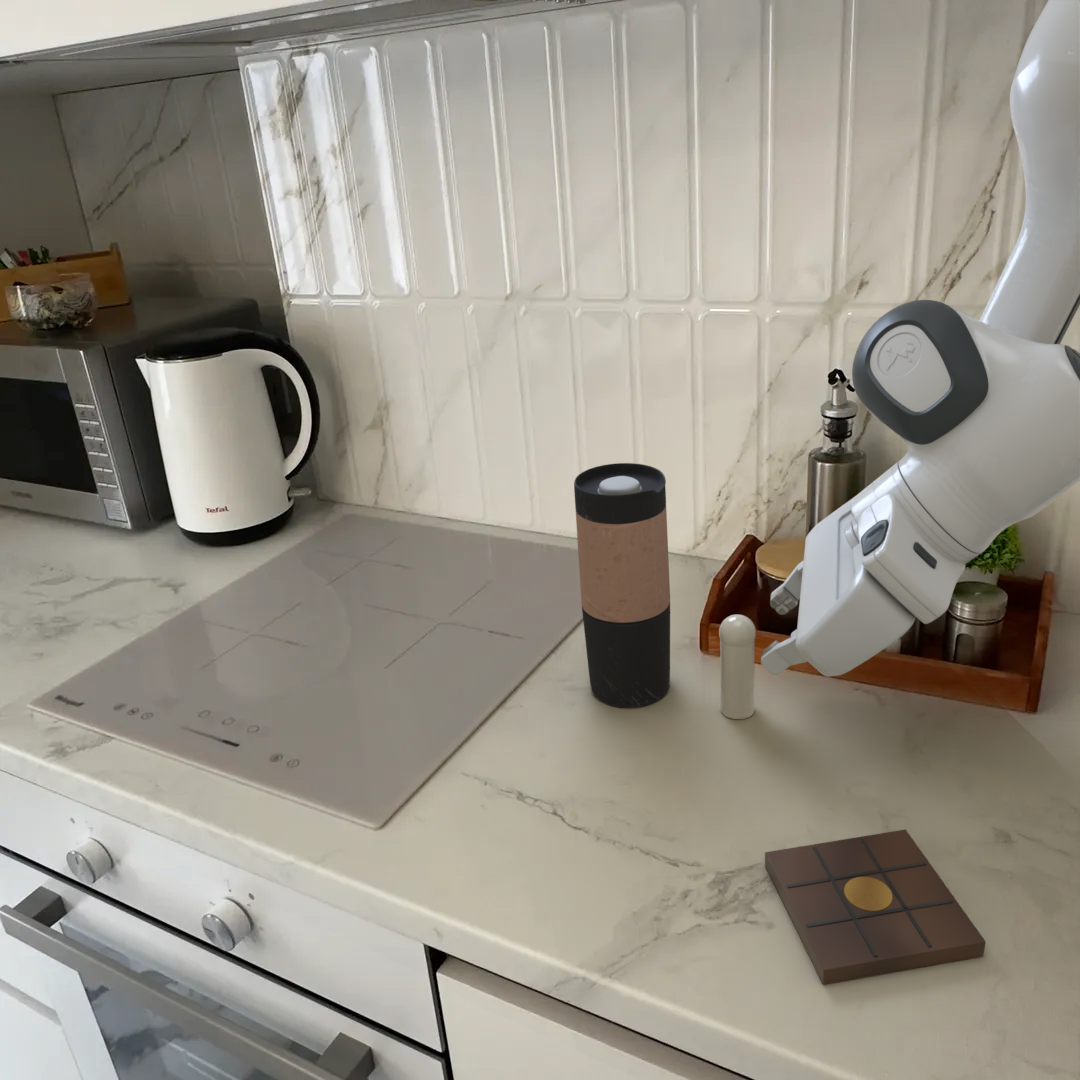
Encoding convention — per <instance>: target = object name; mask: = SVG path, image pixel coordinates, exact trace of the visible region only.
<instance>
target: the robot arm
mask: <svg viewBox="0 0 1080 1080" xmlns="http://www.w3.org/2000/svg"><path fill="white" fill-rule="evenodd" d="M1012 79H1013V80H1012V83H1011V88H1010V92H1009V111H1010V118H1011V124H1012V128H1013V132H1014V135H1015V139H1016V142H1017V146H1018V150H1019V154H1020V160H1021V165H1022V170H1023V177H1024V187H1025V206H1024V207H1025V208H1024V209H1025V210H1024V216H1023V220H1022V226H1021V229H1020V231H1019V235H1018V237H1017V240H1016V243H1015V245H1014V246H1013V249H1012V251H1011V253H1010V255H1009V258H1008V260H1007V262H1006V263H1005V266H1004V268H1003V270H1002V272H1001V274H1000V276H999V278H998V280H997V282H996V284H995V287H994V289H993V291H992V293H991V295H990V297H989V300H988V301H987V303H986V306H985V307H984V310H983V312H982V314H981V316H980V318H979V319H977V318H975V317H974V316H972V315H970V314H968V313H966V312H964V311H963V310H960V309H959V308H957V307H954V306H952V305H949V304H946V303H944V302H941V301H937V300H933V299H918V300H912V301H908V302H905V303H902V304H900V305H897V306H895V307H894V308H892V309H890V310H889V311H887V312H886V313H884V314H883V315H882V316H881V317H879V318H878V319H876V320H875V322H874V323H873V324H872V325H871V326H870V328H868V329H867V331H866V332H865V334H864V335H863V337H862V339H861V340H860V342H859V344H858V346H857V348H856V351H855V355H854V358H853V361H852V367H851V368H852V369H851V379H852V385H853V387H854V388H853V389H854V391H855V394H856V396H857V397H858V400H859V401H860V402H861V404H862V405H863V406H864V407H865V408H866V410H867V411H868V412H869V413H870V414H871V415H872V416H873V417H874V418H875V419H876V420H877V421H879V422H880V423H881V424H884V425H885V426H886V427H887V428H888V429H889V430H891V431H893V433H895V434H897V435H898V436H899V437H900V438H901V439H902V440H903V441H904V442H905V444H906V446H907V450H906V453H905V454H904V456H903V457H902V458H901V459H899V460H898V461H897V462H896V463H894V464H893V465H892V466H890V468H888V469H887V470H886V471H884V472H883V473H882V474H881V475H880V476H878V477H877V478H875V480H873V481H872V482H870V484H869V485H867V486H866V487H865V488H863V490H861V491H859V493H857V494H856V495H855V496H853V497H852V498H851V499H849V500H848V501H847V502H845V503H844V504H842V505H840V507H838V508H837V509H835V510H834V511H833V512H831V513H830V514H829V515H827V516H826V517H825V518H823V519H822V520H820V521H819V522H818V523H817V524H816V525H814V527H812V529H811V530H810V531H809V532H808V534H807V535H806V537H805V541H804V552H803V560H802V561H800V562H799V563H798V564H797V565H796V566H795V568H794V569H793V570H792V571H791V573H790V574H789V575H788V576H787V578H786V579H785V580H784V581H783V583H782V584H780V585H779V586H778V587H777V588H776V589H774V590H773V591H772V592H771V593H770V599H769V605H770V607H771V608H772V609H774V610H775V611H776V613H777V614H779V615H781V616H783V615H786V614H788V613H789V612H790V611H791V610H793V609H794V608H796V607H797V606H799V607H798V614H797V624H796V625H797V626H796V629H795V630H793V631H792V632H791V633H790V637H789V638H787V639H785V640H783V641H781V642H779V640H777V639H775V640H774V641H773V642H771V643H770V644H769V645H768V646H767V647H765V648H763V650H762V652H761V657H760V664H761V667H763V668H764V669H765V670H766V671H767V672H768V673H769V674H770V675H773V676H777V675H780V674H782V673H783V672H784V671H785V670H786V669H788V668H789V667H791V666H795V665H799V664H804V663H809V665H811V666H812V667H813V668H814V669H815V670H816V671H818V672H819V673H820V674H821V675H823V676H824V677H828V678H829V677H839V676H842V675H844V674H847V673H849V672H850V671H852V670H853V669H855V668H857V667H859V666H860V665H862V664H864V663H865V662H867V661H869V660H870V659H871V658H873V657H874V656H876V655H878V654H880V652H882V651H884V650H885V649H887V648H888V647H889V646H891V645H892V644H894V643H895V642H896V641H898V640H900V638H902V637H903V636H904V635H906V633H907V632H909V630H910V629H911V627H912V626H913V625H914V624H915V623H914V622H915V621H916V618H917V619H918V620H919V621H920V622H921V623H923V624H924V625H927V624H931V623H932V622H934V621H936V620H937V619H939V618H940V617H941V616H942V615H944V614H945V613H946V612H947V611H948V609H949V608H950V605H951V602H952V601H951V600H952V598H953V594H954V590H955V589H956V585H957V583H958V581H959V579H960V577H961V576H962V574H963V573H964V571H965V569H966V565H967V564H968V563H969V562H971V561H972V560H973V559H975V558H977V557H978V556H979V555H980V554H982V553H983V552H984V551H986V550H987V548H989V547H990V545H991V544H992V543H993V541H994V540H995V539H997V537H998V536H999V535H1000V534H1001V533H1002V532H1003V531H1004V530H1006V529H1007V528H1009V527H1010V526H1013V525H1014V524H1017V523H1019V522H1022V521H1025V520H1028V519H1030V518H1032V517H1034V516H1035V515H1037V514H1038V513H1040V512H1041V511H1042V510H1044V509H1045V508H1047V507H1048V506H1049V505H1051V504H1052V503H1054V502H1055V501H1056V500H1057V499H1058V498H1060V497H1061V496H1062V495H1064V494H1065V493H1066V492H1068V491H1069V490H1070V489H1071V488H1072V487H1074V486H1075V485H1077V483H1079V482H1080V352H1079V351H1077V350H1076V349H1074V348H1072V347H1071V346H1070V345H1066V344H1062V341H1063V339H1064V337H1065V335H1066V333H1067V331H1068V329H1069V328H1070V325H1071V323H1072V321H1073V319H1074V317H1075V316H1076V313H1077V311H1078V309H1079V307H1080V0H1047V2H1046V3H1045V5H1044V7H1043V9H1042V11H1041V13H1040V15H1039V16H1038V18H1037V20H1036V22H1035V24H1034V25H1033V28H1032V29H1031V31H1030V33H1029V36H1028V37H1027V40H1026V41H1025V44H1024V46H1023V49H1022V52H1021V54H1020V58H1019V61H1018V64H1017V65H1016V70H1015V73H1014V76H1013V78H1012ZM798 604H799V605H798Z"/></svg>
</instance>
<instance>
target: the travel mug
mask: <svg viewBox="0 0 1080 1080" xmlns="http://www.w3.org/2000/svg"><path fill="white" fill-rule="evenodd" d="M666 483H667V480H666V476H665V474H664V473H663V472H662V470H660V469H658V468H656V467H654V466H651V465H647V464H643V463H634V462H633V463H632V462H619V463H618V462H617V463H608V464H602V465H598V466H595V467H591V468H588V469H586V470H584V471H582V472H581V473H579V474H578V475H577V476H576V477H575V478H574V481H573V485H574V486H573V490H574V505H575V507H574V509H575V522H576V523H575V524H576V536H577V537H576V539H577V540H576V541H577V554H578V555H577V556H578V569H579V571H578V572H579V584H580V587H579V588H580V601H581V603H580V604H581V612H582V613H581V614H582V621H583V631H584V640H585V648H586V658H587V668H588V676H589V684H590V689H591V692H592V694H593V695H594V697H595V698H596V699H598V701H600V702H602V703H603V704H605V705H609V706H612V707H615V708H623V709H625V708H626V709H633V708H634V709H635V708H641V707H646V706H649V705H652V704H654V703H657V702H658V701H661V699H663V698H664V697H665V696H666V695H667V693H668V691H669V689H670V683H671V588H670V587H671V586H670V585H671V584H670V563H669V561H670V559H669V539H668V536H669V535H668V520H667V519H668V517H667V516H668V515H667V492H666V491H667V489H666Z"/></svg>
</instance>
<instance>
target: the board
mask: <svg viewBox="0 0 1080 1080" xmlns="http://www.w3.org/2000/svg"><path fill="white" fill-rule="evenodd" d="M764 866H765V869H766V871H767V873H768V875H769V877H770V879H771V881H772V883H773V885H774V888H775V889H776V892H777V893H778V896H779V897H780V900H781V901H782V904H783V905H784V908H785V910H786V912H787V915H788V916H789V918H790V920H791V922H792V924H793V925H794V928H795V930H796V932H797V935H798V937H799V938H800V940H801V943H802V944H803V946H804V948H805V950H806V952H807V954H808V957H809V959H810V961H811V963H812V966H813V967H814V970H815V971H816V973H817V975H818V977H819V979H820V981H821V984H822V985H828V984H834V983H839V982H845V981H851V980H856V979H862V978H867V977H873V976H879V975H884V974H890V973H891V974H892V973H895V972H903V971H907V970H912V969H918V968H924V967H929V966H934V965H935V966H936V965H940V964H946V963H947V964H948V963H952V962H957V961H958V962H959V961H964V960H968V959H974V958H975V959H976V958H980V957H984V956H985V948H986V940H985V938H984V937H983V936H982V934H981V933H980V932H979V930H978V929H977V927H976V926H975V924H974V923H973V922H972V920H971V919H970V917H969V916H968V915H967V913H966V912H965V910H964V909H963V907H962V906H961V905H960V904H959V902H958V900H957V899H956V898H955V896H954V895H953V893H952V892H951V891H950V889H949V887H948V886H947V885H946V884H945V882H944V880H942V878H941V877H940V875H939V874H938V872H937V871H936V870H935V868H934V867H933V866H932V864H931V862H930V861H929V860H928V858H927V857H926V856H925V854H924V853H923V851H922V850H921V848H920V847H919V846H918V844H917V843H916V841H915V840H914V839H913V837H912V836H911V834H910V833H909V831H908V830H907V829H900V830H893V831H887V832H880V833H874V834H869V835H862V836H857V837H850V838H844V839H838V840H832V841H826V842H820V843H814V844H807V845H801V846H795V847H790V848H789V847H788V848H783V849H777V850H771V851H765V852H764Z"/></svg>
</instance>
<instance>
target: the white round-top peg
mask: <svg viewBox="0 0 1080 1080" xmlns="http://www.w3.org/2000/svg"><path fill="white" fill-rule="evenodd" d="M718 636H719V647H720V651H719V654H720V655H719V657H720V660H719V661H720V662H719V663H720V666H719V667H720V672H719V673H720V675H719V676H720V711H721V713H722V714H723V715H724V716H725V717H726V718H729V719H732V720H744V719H745V720H746V719H748V718H750V717H751V716H753V714H754V713H755V679H756V678H755V677H756V676H755V669H756V665H755V662H756V638H757V629H756V626H755V623H754V622H753V621H752V619H751V618H749V617H748V616H746V615H743V614H740V613H739V614H737V613H736V614H735V613H734V614H731V615H729V616H727V617H725V619H723V620H722V622H721V623H720V626H719V628H718Z"/></svg>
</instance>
